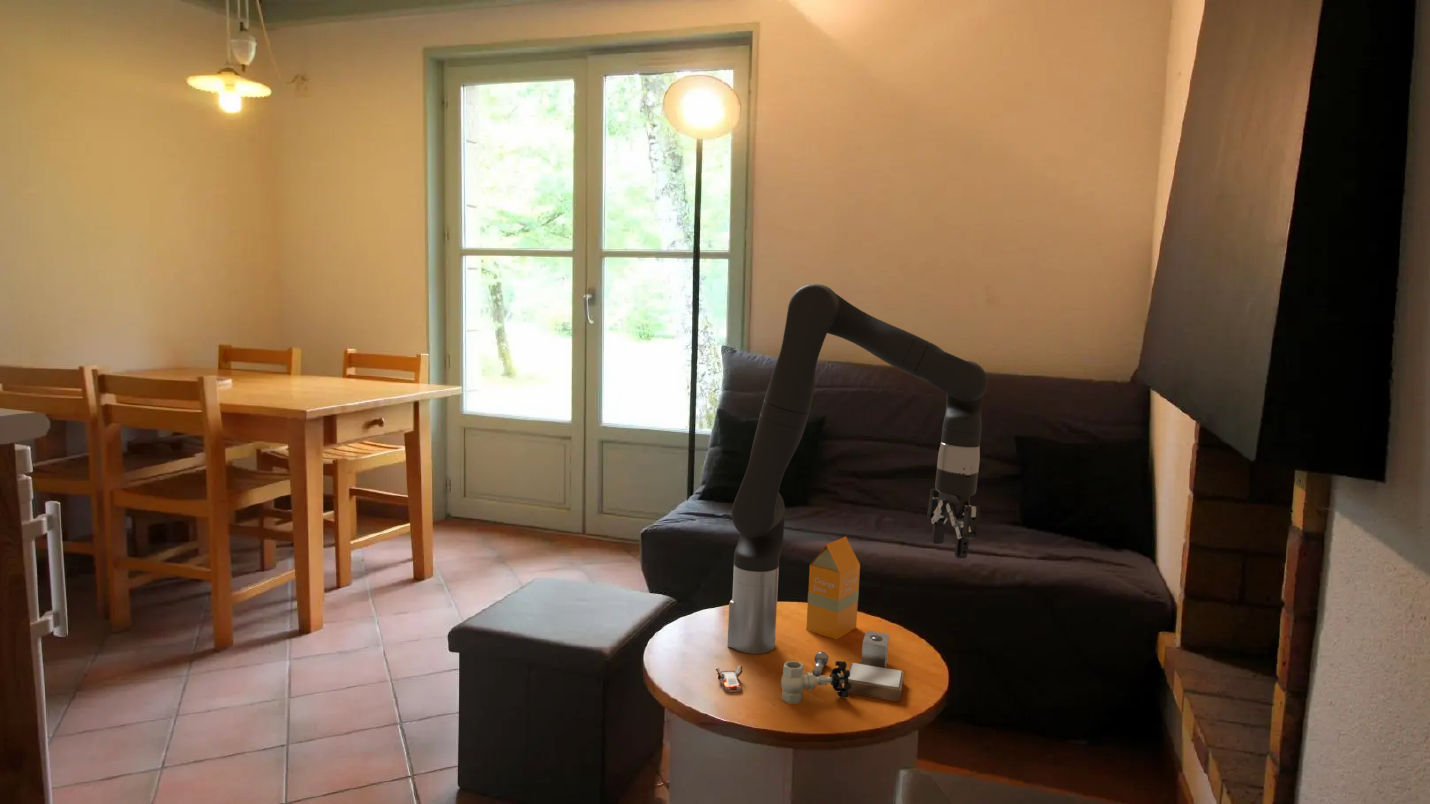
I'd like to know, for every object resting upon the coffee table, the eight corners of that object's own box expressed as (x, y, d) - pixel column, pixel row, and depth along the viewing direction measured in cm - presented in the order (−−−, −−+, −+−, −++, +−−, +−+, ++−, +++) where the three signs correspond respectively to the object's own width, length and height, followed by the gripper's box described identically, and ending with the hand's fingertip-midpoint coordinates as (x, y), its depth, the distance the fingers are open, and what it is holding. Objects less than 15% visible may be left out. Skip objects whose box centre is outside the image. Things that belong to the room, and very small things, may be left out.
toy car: (739, 674, 162) (740, 658, 162) (746, 693, 155) (747, 677, 154) (712, 675, 162) (713, 659, 161) (718, 694, 154) (719, 678, 153)
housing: (860, 671, 165) (862, 641, 164) (864, 659, 171) (866, 629, 170) (884, 675, 164) (886, 645, 163) (887, 662, 169) (889, 633, 169)
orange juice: (856, 627, 187) (862, 539, 184) (836, 639, 180) (842, 548, 177) (826, 618, 191) (831, 532, 189) (805, 629, 184) (810, 540, 182)
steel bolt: (823, 677, 162) (823, 664, 161) (809, 675, 162) (810, 662, 162) (828, 664, 167) (828, 652, 167) (815, 662, 168) (815, 650, 168)
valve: (786, 709, 149) (850, 704, 152) (788, 673, 148) (852, 669, 151) (775, 691, 155) (837, 687, 158) (777, 657, 155) (839, 653, 157)
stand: (844, 692, 156) (845, 679, 156) (850, 673, 164) (851, 661, 163) (899, 701, 153) (900, 688, 153) (903, 682, 161) (904, 670, 160)
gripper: (921, 458, 165) (913, 539, 168) (960, 476, 152) (950, 563, 154) (955, 459, 167) (946, 538, 170) (996, 476, 154) (986, 562, 156)
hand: (948, 550), depth 162 cm, fingers open, 8 cm apart
